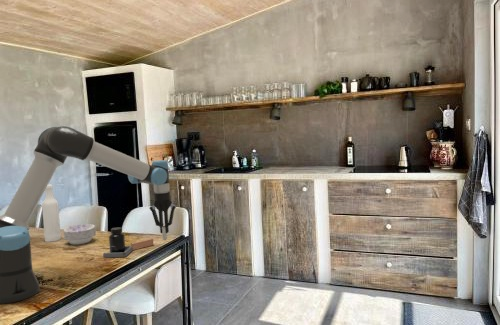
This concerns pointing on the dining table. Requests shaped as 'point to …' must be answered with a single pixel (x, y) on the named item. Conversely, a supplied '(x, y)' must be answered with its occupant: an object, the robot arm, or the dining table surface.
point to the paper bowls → (79, 233)
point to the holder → (130, 248)
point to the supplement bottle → (117, 240)
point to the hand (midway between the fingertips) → (165, 239)
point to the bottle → (51, 216)
